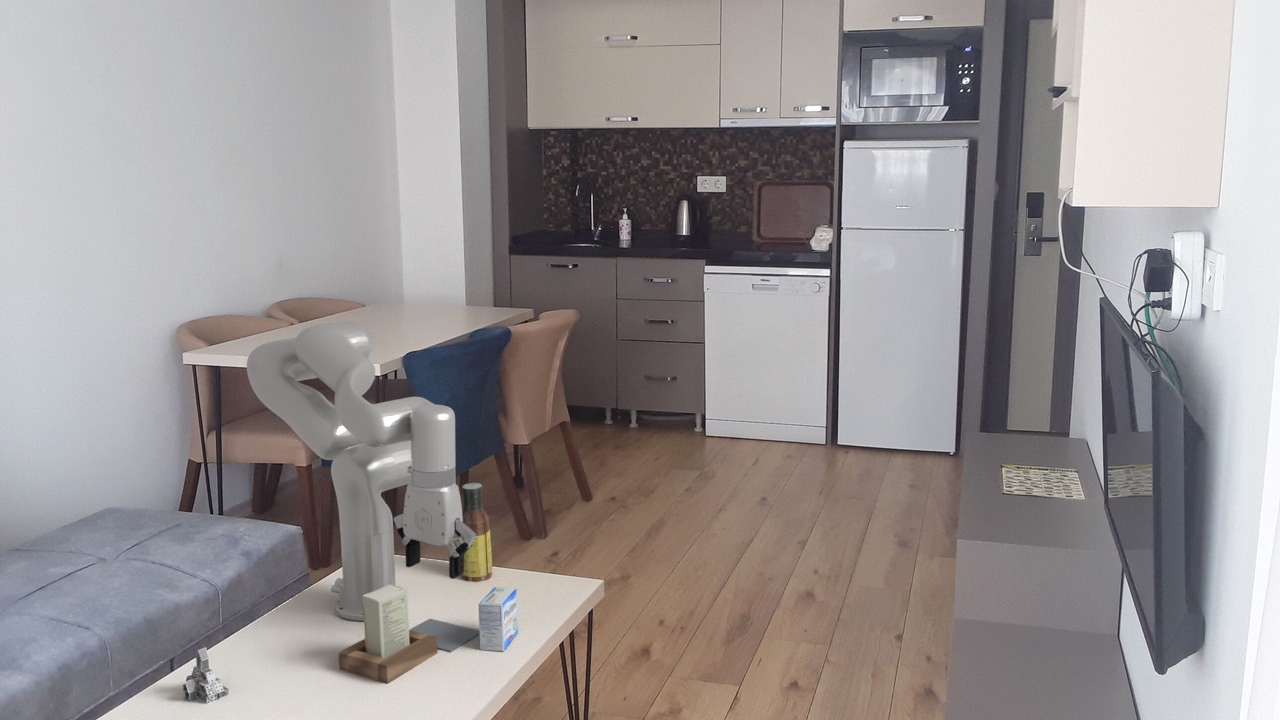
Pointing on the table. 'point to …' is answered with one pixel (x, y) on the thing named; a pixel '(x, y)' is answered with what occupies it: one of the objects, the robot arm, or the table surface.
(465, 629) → the charcoal mat
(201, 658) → the grey toy block stack
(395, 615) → the skincare box
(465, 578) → the sauce bottle
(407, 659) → the walnut holder
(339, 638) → the table surface
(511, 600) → the medicine box
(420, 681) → the table surface
